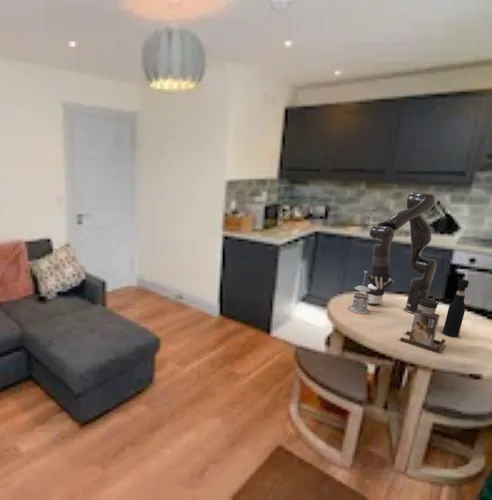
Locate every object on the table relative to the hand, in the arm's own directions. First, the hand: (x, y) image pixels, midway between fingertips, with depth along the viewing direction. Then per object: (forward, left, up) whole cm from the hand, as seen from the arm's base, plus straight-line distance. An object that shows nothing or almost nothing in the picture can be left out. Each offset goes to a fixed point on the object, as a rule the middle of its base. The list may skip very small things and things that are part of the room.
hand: (380, 295), depth 193 cm
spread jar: (-34, -14, -19) cm, 41 cm away
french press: (-17, -13, -19) cm, 29 cm away
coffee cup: (-21, +17, -19) cm, 33 cm away
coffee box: (+2, +21, -19) cm, 29 cm away
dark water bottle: (-21, +29, -19) cm, 41 cm away
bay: (+1, +21, -19) cm, 28 cm away
